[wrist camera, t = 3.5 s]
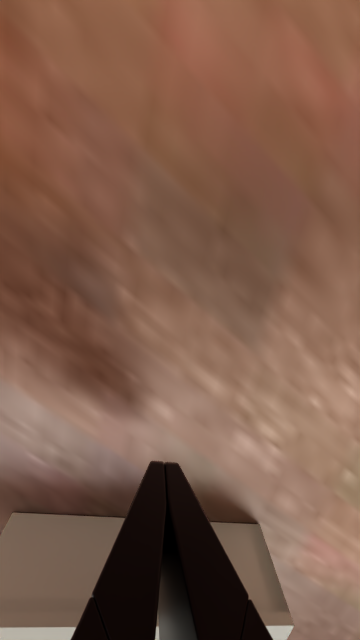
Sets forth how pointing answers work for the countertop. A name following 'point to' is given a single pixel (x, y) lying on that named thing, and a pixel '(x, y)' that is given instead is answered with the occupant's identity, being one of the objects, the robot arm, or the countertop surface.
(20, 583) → the cream rectangular slab
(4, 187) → the countertop surface
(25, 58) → the countertop surface
